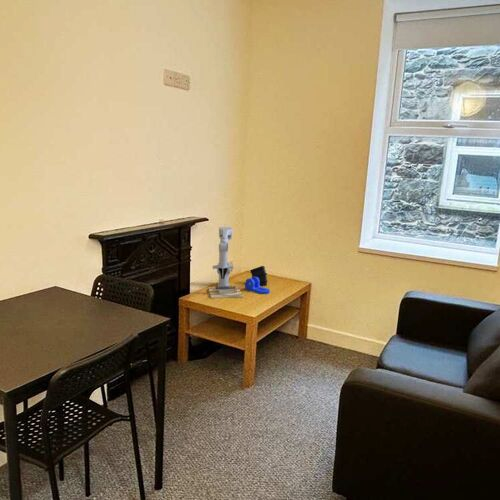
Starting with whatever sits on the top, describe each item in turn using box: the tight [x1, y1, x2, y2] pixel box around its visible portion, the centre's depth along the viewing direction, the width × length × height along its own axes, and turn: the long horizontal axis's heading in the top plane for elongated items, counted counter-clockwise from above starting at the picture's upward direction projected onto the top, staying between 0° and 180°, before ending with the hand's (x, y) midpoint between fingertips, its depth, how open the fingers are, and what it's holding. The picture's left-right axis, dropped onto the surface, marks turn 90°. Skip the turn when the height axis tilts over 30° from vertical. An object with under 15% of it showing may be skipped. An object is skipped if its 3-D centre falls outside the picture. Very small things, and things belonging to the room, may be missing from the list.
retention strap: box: [214, 285, 237, 290], centre depth 314 cm, size 4×15×2 cm, turn 101°
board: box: [208, 286, 244, 299], centre depth 314 cm, size 20×22×1 cm
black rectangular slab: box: [249, 265, 269, 287], centre depth 337 cm, size 4×13×15 cm, turn 66°
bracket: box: [244, 276, 271, 295], centre depth 322 cm, size 18×8×9 cm, turn 54°
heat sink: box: [217, 285, 233, 294], centre depth 314 cm, size 10×10×3 cm
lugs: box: [212, 285, 237, 293], centre depth 314 cm, size 6×17×4 cm, turn 101°
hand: (222, 278), depth 314 cm, fingers closed
